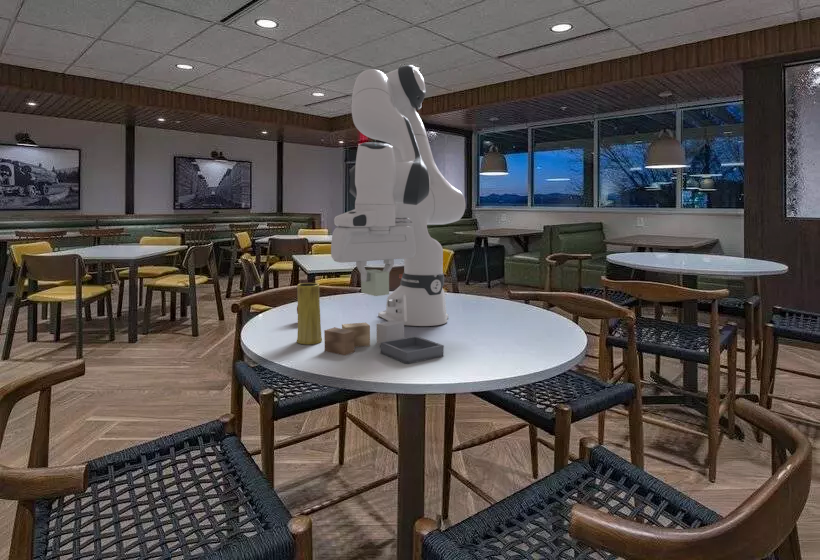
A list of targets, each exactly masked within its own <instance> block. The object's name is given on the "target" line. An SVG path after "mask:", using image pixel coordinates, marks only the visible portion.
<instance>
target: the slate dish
mask: <svg viewBox="0 0 820 560" xmlns="http://www.w3.org/2000/svg"><path fill="white" fill-rule="evenodd" d="M379 346H380V348H379V349H380V354H383V355H385V356H387V357H389V358H392V359H394V360H396V361H399V362H401V363H404V364H406V365H409V364H413V363H418V362H423V361H428V360H432V359H437V358H441V357H444V351H445V350H444V347H445V345H444V344H441V343H438V342H435V341H432V340H430V339H427V338H426V339H425V338H423V337H420V336H417V335H414V336H409V337H404V338H402V339H397V340H391V341H385V342H380V344H379Z"/></svg>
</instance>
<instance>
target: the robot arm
mask: <svg viewBox="0 0 820 560" xmlns="http://www.w3.org/2000/svg"><path fill="white" fill-rule="evenodd" d="M354 81H355V82H354V86H353V89H352V95H351V101H350V103H351V104H350V106H351V117H352V121H353V125H354V126H355V128H356V129H357V130H358V131H359V132H360V133H361V134H362V135H363V136H366V137H367V138H369V139H372V140H376V142H375V141H374V142H372V141H371V142H366V141H365V142H362V143H360V144H358V146H357V150H356V151H357V152H356V158H355V165H353V166H352V167H351V168H350V169H349V175H350V176H349V178H350V179H349V193H350V194H351V195H352V196H353V197H354V198H355V201H354V209H352V210H348V211H346V212H344V213H340V214H338V215H336V216H335V217H334V219H333V223H334V225H335V226H336V227H335V228H334V229H333V231H332V235H331V243H330V245H331V246H330V255H331V258H332V260H333V261H334V262H336V263H341V264H343V263H355V266H356V268H357V269H358V271H359V274H360V282H361V281H363V282H368V281H370V280H371V278H370V277H371V274H370V273H367V271H366V270H367V269H366V268H365V267H367V262H372V261H373V262H374V261H383V264H385V265H384V266H383V269H382V271H387V272H389V273H390V272H391V271H392V269H393V266H394V264H395V260H401V259H402V260H403V261H404V263H403V267H404V268H403V269H404V271H403V273H401V274H399V279H400V283H399V286H398V287H397V288H395V290H393V291H392V293H389V294H388V295H387V298H386V306H385V308H386V309H385V310H381V311H379V312H378V313H377V314H378V317H380V318H382V319H384V320H386V321H392V320H396V321H401V322H404V326H413V327H414V326H415V327H430V326H431V327H432V326H440V325H444V324H447V322H448V319H449V314H448V313H447V305H446V304H447V302H446V293H445V290H444V288H443V287H444V286H445V274H444V273H443V269H444V268H443V267H444V265H443V263H444V248H443V246H442V244H441V243H440V242H439V241H438V240H437V239H435V238H433V237H431V235H430V233H429V229H428V225H430V226H431V225H432V226H433V225H447V224H451V223H455V222H459V221H460V220H461V219H462V217H463V216H464V214H465V211H466V199H465V196H464V194H463V193H462V192H461V190H459V189H457V188H456V187H455V186H453V185H452V184H451V183H450V182H449V181H448V180H447V178H446V177H444V175H443V173H442V172H441V171H440V170H439V168H438V166H437V164H436V162H435V159H434V156H433V152H432V148H431V145H430V141H429V138H428V134H427V131H426V128H425V125H424V123H423V121H422V118H421V117H420V114H419V112H417V111H420V110H421V108H422V107H423V106H422V105H423V104H422V103H423V101H424V99H425V98H426V97H425V96H426V92H427V89H426V84H425V83H426V82H425V79H424V76H423V75H422V73H421V72H420V71H419V69H417V67H416V66H414V65H412V64H406V65H401V66H399V67H398V68H397V69H394V70H392V71H389V72H386V73H384V72H383V71H381V70H379V69H375V68H368V69H365V70H362V72H360V73H359V74H358V76H357V77H356V79H355V80H354ZM377 141H378V142H377ZM379 141H381V142H379Z"/></svg>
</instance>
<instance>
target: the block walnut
mask: <svg viewBox="0 0 820 560" xmlns="http://www.w3.org/2000/svg"><path fill="white" fill-rule="evenodd" d="M323 332H324V338H323V339H324V352H326V351H327V353H332V354H336V355H341V356H347V355H350V354H354V353H355V347H354V331H352V330H346V329H342V328H339V327H332V328H327V329H325V330H324V331H323Z"/></svg>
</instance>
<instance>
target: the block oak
mask: <svg viewBox="0 0 820 560" xmlns="http://www.w3.org/2000/svg"><path fill="white" fill-rule="evenodd" d="M341 329H346V330H352V331H354V348H357V347H367V346H368V347H370V346H371V325H370V324H369V323H367V322H355V323H352V322H351V323H342V324H341Z"/></svg>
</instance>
